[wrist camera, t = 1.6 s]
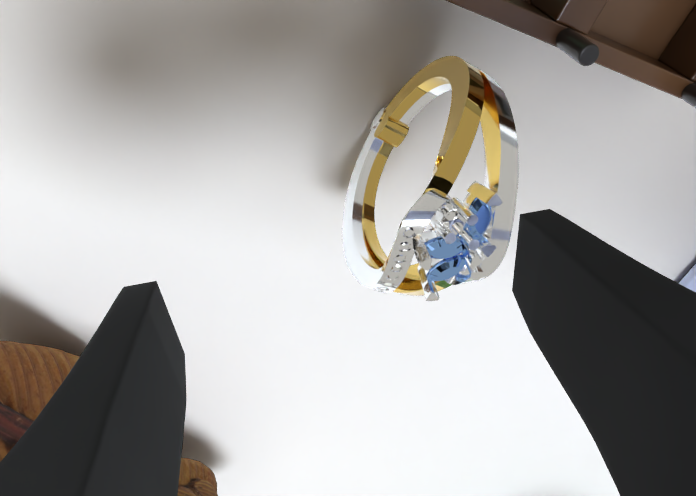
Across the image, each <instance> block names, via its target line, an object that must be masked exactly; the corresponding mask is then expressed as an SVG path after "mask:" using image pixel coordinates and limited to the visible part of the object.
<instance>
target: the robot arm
mask: <svg viewBox="0 0 696 496" xmlns="http://www.w3.org/2000/svg"><path fill="white" fill-rule="evenodd" d="M512 291H513V293H514V296H515V298H516V301H517V303H518V306H519V308H520V310H521V313H522V315H523V317H524V320H525V322H526V324H527V326H528V328H529V331H530V333H531V335H532V336H533V338H534V340H535V341H536V343H537V345H538V347H539V348H540V350H541V352H542V353H543V355H544V357H545V358H546V360H547V362H548V363H549V365H550V367H551V368H552V370H553V371H554V373H555V375H556V376H557V378H558V380H559V381H560V383H561V385H562V386H563V388H564V390H565V391H566V393H567V394H568V396H569V398H570V399H571V401H572V403H573V404H574V406H575V408H576V409H577V411H578V413H579V414H580V416H581V418H582V419H583V421H584V422H585V424H586V426H587V428H588V430H589V432H590V433H591V435H592V437H593V439H594V441H595V442H596V445H597V447H598V449H599V451H600V453H601V455H602V457H603V459H604V461H605V464H606V466H607V468H608V470H609V472H610V474H611V476H612V478H613V480H614V483H615V485H616V487H617V489H618V491H619V494H620V496H696V264H695V265H694V266H693V267H692V268H691V270H690V271H689V272H688V273H687V274H686V275H685V276H684V277H683V279H682V280H681V281H680V282H679V283H676V282H675V281H673V280H671V279H669V278H667V277H665V276H663V275H661V274H659V273H658V272H656V271H654V270H652V269H650V268H648V267H647V266H645V265H643V264H641V263H640V262H638V261H636V260H634V259H633V258H631V257H629V256H628V255H626V254H624V253H622V252H621V251H619V250H617V249H616V248H614V247H612V246H611V245H609V244H607V243H606V242H604V241H602V240H601V239H599V238H597V237H596V236H594V235H593V234H591V233H589V232H588V231H586V230H584V229H583V228H581V227H579V226H578V225H576V224H575V223H573V222H571V221H570V220H568V219H566V218H565V217H563V216H561V215H559V214H558V213H556V212H554V211H552V210H550V209H547V210H542V211H536V212H531V213H525V214H520V221H519V231H518V240H517V250H516V260H515V269H514V279H513V288H512ZM185 411H186V375H185V354H184V351H183V349H182V346H181V343H180V341H179V338H178V336H177V333H176V331H175V328H174V325H173V323H172V320H171V318H170V315H169V313H168V310H167V307H166V305H165V302H164V300H163V297H162V295H161V292H160V289H159V287H158V284H157V282H156V281H154V282H149V283H143V284H138V285H132V286H127V287H124V288H123V289H122V290H121V292H120V293H119V295H118V296H117V298H116V300H115V301H114V303H113V304H112V306H111V308H110V309H109V311H108V313H107V314H106V316H105V318H104V319H103V321H102V322H101V324H100V326H99V327H98V329H97V331H96V332H95V334H94V335H93V337H92V339H91V340H90V342H89V343H88V345H87V346H86V348H85V349H84V351H83V352H82V354H81V356H80V357H79V359H78V360H77V362H76V363H75V365H74V366H73V368H72V369H71V371H70V372H69V374H68V375H67V377H66V378H65V380H64V381H63V382H62V384H61V385H60V387H59V388H58V389H57V391H56V392H55V393H54V395H53V396H52V398H51V399H50V400H49V402H48V403H47V404H46V406H45V407H44V408H43V410H42V411H41V413H40V414H39V415H38V417H37V418H36V419H35V421H34V422H33V423H32V424H31V426H30V427H29V428H28V429H27V431H26V432H25V433H24V435H23V436H22V437H21V438H20V439H19V441H18V442H17V443H16V444H15V446H14V447H13V448H12V449H11V450H10V451H9V452H8V454H7V455H6V456H5V457H4V458H3V459H2V461H1V462H0V496H177V495H178V485H179V475H180V464H181V454H182V444H183V433H184V422H185Z"/></svg>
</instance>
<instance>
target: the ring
mask: <svg viewBox="0 0 696 496" xmlns="http://www.w3.org/2000/svg"><path fill="white" fill-rule="evenodd" d="M449 90H452V100H451V107H450V113H449V117H448V122H447V126H446V129H445V133H444V137H443V140H442V144H441V147H440V150H439V154H438V157H437V160H436V164H435V167H434V170H433V173H432V177H431V179H430V182H429V184H428V186H427V188H426V190H425V192H424V193H423V195H422V196H421V197H420V198H419V200H418V201H417V202H416V203H415V204H414V206H412V207H411V208H410V210H409V211H408V212H407V213H406V215H405V217H404V218H403V220H402V222H401V224H400V227H399V229H398V232H397V235H396V238H395V241H394V243H393V246H392V249H391V252H390V254H389V256H388V257H387V256H386V255H385V253H384V252H383V250H382V248H381V246H380V244H379V241H378V238H377V234H376V229H375V221H374V206H375V197H376V191H377V187H378V183H379V179H380V176H381V173H382V170H383V168H384V165H385V163H386V161H387V159H388V157H389V155H390V153H391V151H392V149H393V147H398V146H399V145H400V144H401V143H402V141H403V140H404V138H405V137H406V135H407V133H408V130H409V127H408V124H409V123H410V122H411V121H412V119H413V118H414V117H415V116H416V115H417V114H418V113H419V112H420V111H421V110H422V109H423V108H424V107H425V106H426V105H427V104H428V103H429V102H430V101H432V100H433V99H434V98H436V97H437V96H439V95H441V94H442V93H444V92H447V91H449ZM479 121H480V122H481V127H482V132H483V139H484V150H485V185H484V186H483V185H482V184H480V183H478V182H477V181H474V182H473V183H472V185H471V186H470V187H469V188H468V190H467V191H468V192H469V193H468V194H467V196H466V197H465V199H464V201H463V203H462V202H461V201H460V200H459V199H458V198H453V199H452V198H451V197H449V195H448V192H449V191H450V189H451V187H452V185H453V183H454V182H455V180H456V178H457V176H458V174H459V172H460V170H461V168H462V166H463V164H464V161H465V159H466V157H467V155H468V152H469V150H470V148H471V145H472V142H473V140H474V137H475V134H476V131H477V128H478V125H479ZM371 129H372V130H371V132H370V134H369V136H368V138H367V139H366V141H365V143H364V146H363V148H362V150H361V152H360V154H359V157H358V159H357V162H356V164H355V167H354V170H353V173H352V176H351V179H350V183H349V186H348V190H347V195H346V199H345V205H344V212H343V221H342V244H343V252H344V256H345V260H346V263H347V265H348V268H349V270H350V272H351V273H352V275H353V276H354V278H355V279H356V280H357V281H358V282H359V283H360V284H361V285H363V286H364V287H367V288H370V289H374V290H377V291H380V292H383V293H389V292H392V291H393V292H397V293H400V294H404V295H410V296H420V295H425V298H426V301H435V300H438V299H439V295H438V292H437V291H440V290H442V289H445V288H447V287H449V286H451V285H456V284H462V283H469V282H475V281H479V280H482V279H484V278H486V277H488V276H489V275H491V274H492V273H493V272H494V271H495V270H496V269H497V268H498V266H499V265H500V263H501V262H502V260H503V258H504V256H505V254H506V251H507V248H508V245H509V241H510V237H511V232H512V226H513V220H514V213H515V206H516V198H517V189H518V175H519V154H518V142H517V135H516V129H515V124H514V120H513V116H512V112H511V109H510V106H509V103H508V101H507V98H506V96H505V94H504V92H503V90H502V88H501V87H500V85H499V84H498V83H497V82H496V81H495V80H494V79H493V78H492V77H490V76H489V75H487V74H486V73H484V72H483V71H481V70H480V69H479V68H477V67H475V66H473V65H471V64H469V63H468V62H466V61H464V60H463V59H461V58H459V57H457V56H446V57H442V58H440V59H437V60H435V61H433V62H431V63H430V64H428V65H427V66H425V67H424V68H423V69H421V70H420V71H419V72H418V73H417V74H415V75H414V76H413V77H412V78H411V79H410V80H409V81H408V82H407V83H406V84H405V85H404V86H403V87H402V89H401V90H400V91H399V92H398V93H397V94H396V96H395V97H394V98H393V99H392V101H391V102H390V103H389V105H388V106H387V107H386V109H385V108H382V109H381V110H380V111H379V112H378V114H377V115H376V116H375V118H374V120H373V122H372V124H371ZM428 222H429V224H430V225H431V226H432V227H433V228H432V229H429V230H427V231H424V229H425V227H426V226H427V224H428ZM423 231H424V232H423ZM414 253H415V256H416V258H417V261H418V264H415V265H410V264H411V261H412V258H413V255H414Z"/></svg>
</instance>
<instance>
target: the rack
mask: <svg viewBox="0 0 696 496" xmlns="http://www.w3.org/2000/svg"><path fill="white" fill-rule="evenodd" d="M446 1H448V2H450V3H453V4H455V5H458V6H460V7H462V8H465V9H467V10H470V11H472V12H474V13H477V14H479V15H482V16H484V17H486V18H489V19H491V20H494V21H496V22H498V23H501V24H503V25H505V26H508V27H510V28H513V29H515V30H517V31H520V32H522V33H525V34H527V35H529V36H532V37H534V38H537V39H539V40H541V41H544V42H546V43H549V44H551V45H553V46H556V47H558V48H560V49H561V50H562V51H564V52H565V53H566V54H568V55H569V56H570V57H571V58H573V59H574V60H575V61H577V62H578V63H579V64H581V65H583V66H589V65H591V64H593V63H597V64H599V65H601V66H604V67H606V68H609V69H611V70H613V71H616V72H618V73H621V74H623V75H625V76H628V77H630V78H633V79H635V80H637V81H640V82H642V83H645V84H647V85H649V86H652V87H654V88H657V89H659V90H661V91H664V92H666V93H669V94H671V95H673V96H676V97H678V98H681V99H683V100H684V101H686V102H687V103H689V104H690V105H692V106H693V107H695V108H696V0H446Z"/></svg>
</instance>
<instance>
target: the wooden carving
mask: <svg viewBox="0 0 696 496" xmlns="http://www.w3.org/2000/svg"><path fill="white" fill-rule="evenodd" d="M79 357H80V356H77V355H73V354H71V353H67V352H65V351H63V350H60V349H56V348H51V347H45V346H40V345H34V344H27V343H17V342H13V341H0V462H1V461H2V459H3V458H4V457H5V456H6V455H7V454H8V452H9V451H10V450H11V449H12V448H13V447H14V446H15V444H16V443H17V442H18V441H19V439H20V438H21V437H22V436H23V435H24V433H25V432H26V431H27V429H28V428H29V427H30V426H31V424H32V423H33V422H34V421H35V419H36V418H37V417H38V415H39V414H40V413H41V411H42V410H43V408H44V407H45V406H46V404H47V403H48V402H49V400H50V399H51V398H52V396H53V395H54V393H55V392H56V391H57V389H58V388H59V387H60V385H61V384H62V382H63V381H64V380H65V378H66V377H67V375H68V374H69V372H70V371H71V369H72V368H73V366H74V365H75V363H76V362H77V360H78V359H79ZM177 496H218V495H217V482H216V479H215V475H214V473H213V472H212V471H211V470H210V468H208V467H207V466H205V465H204V464H203V463H201V462H200V461H196V460H192V459H189V458H182V457H181V464H180V475H179V485H178V495H177Z"/></svg>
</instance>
